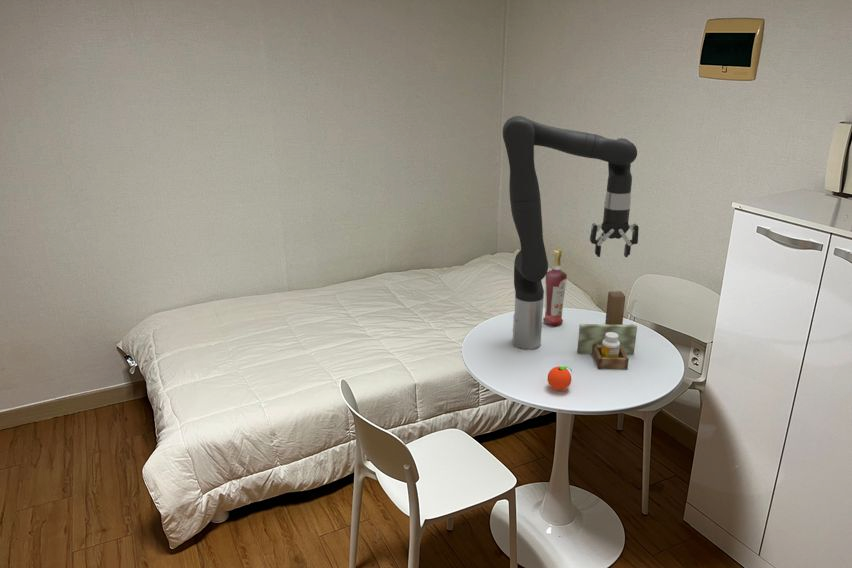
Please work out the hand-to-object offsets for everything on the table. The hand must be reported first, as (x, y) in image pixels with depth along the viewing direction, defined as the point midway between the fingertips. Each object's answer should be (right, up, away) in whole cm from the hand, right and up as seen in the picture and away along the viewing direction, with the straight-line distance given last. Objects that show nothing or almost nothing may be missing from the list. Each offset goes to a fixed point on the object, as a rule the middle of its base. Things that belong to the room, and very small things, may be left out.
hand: (612, 256), depth 195 cm
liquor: (-13, -23, +30) cm, 40 cm away
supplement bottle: (0, -34, +2) cm, 34 cm away
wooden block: (+7, -29, +15) cm, 33 cm away
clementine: (-19, -40, -12) cm, 46 cm away
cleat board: (0, -33, +3) cm, 33 cm away
